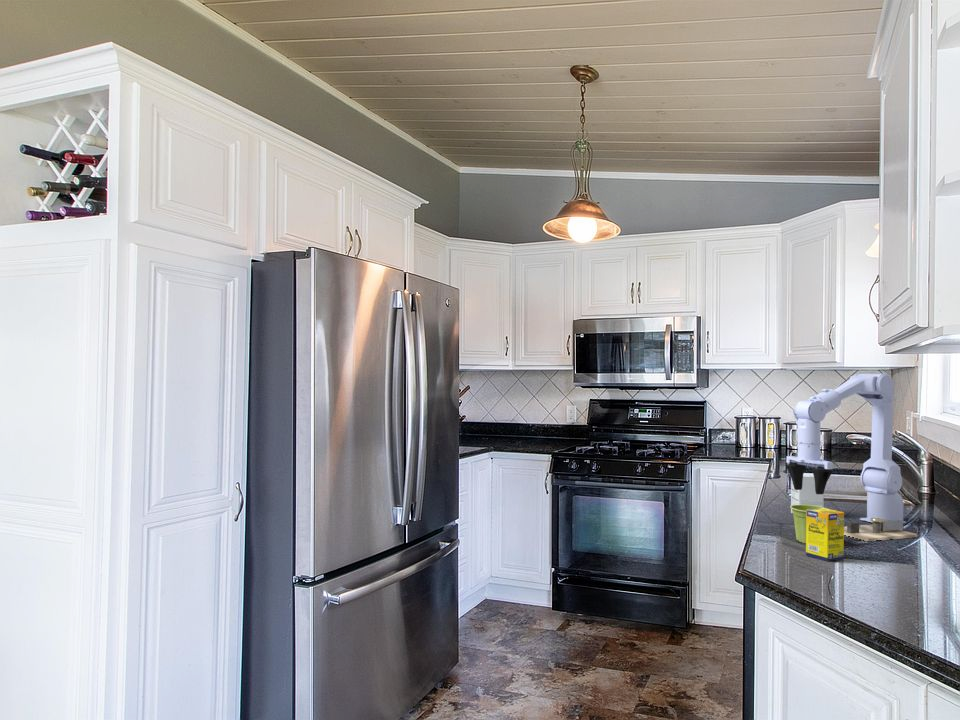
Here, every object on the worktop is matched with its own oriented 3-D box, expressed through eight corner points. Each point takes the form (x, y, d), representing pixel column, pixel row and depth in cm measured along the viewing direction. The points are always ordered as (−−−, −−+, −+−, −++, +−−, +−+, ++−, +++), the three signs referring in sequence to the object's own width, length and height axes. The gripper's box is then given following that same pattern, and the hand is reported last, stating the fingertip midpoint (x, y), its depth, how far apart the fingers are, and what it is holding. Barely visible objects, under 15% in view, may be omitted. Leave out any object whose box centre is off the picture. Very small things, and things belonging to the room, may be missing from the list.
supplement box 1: (814, 513, 218) (815, 473, 218) (824, 518, 210) (824, 476, 210) (790, 512, 218) (790, 472, 219) (798, 517, 211) (798, 475, 211)
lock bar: (877, 532, 187) (877, 520, 187) (868, 530, 189) (868, 518, 189) (905, 530, 190) (905, 518, 190) (895, 528, 193) (895, 516, 193)
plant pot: (835, 542, 180) (835, 508, 180) (823, 548, 173) (823, 513, 173) (797, 536, 186) (797, 503, 186) (784, 541, 179) (784, 507, 179)
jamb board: (874, 527, 199) (874, 514, 199) (917, 537, 187) (917, 524, 187) (826, 531, 193) (826, 518, 193) (868, 541, 181) (868, 528, 181)
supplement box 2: (827, 561, 160) (828, 513, 160) (805, 555, 165) (805, 509, 166) (844, 559, 163) (845, 511, 163) (821, 553, 168) (822, 507, 168)
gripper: (778, 441, 202) (778, 488, 202) (819, 446, 188) (818, 496, 188) (797, 440, 205) (796, 487, 204) (838, 445, 191) (838, 495, 191)
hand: (808, 491), depth 196 cm, fingers open, 7 cm apart
